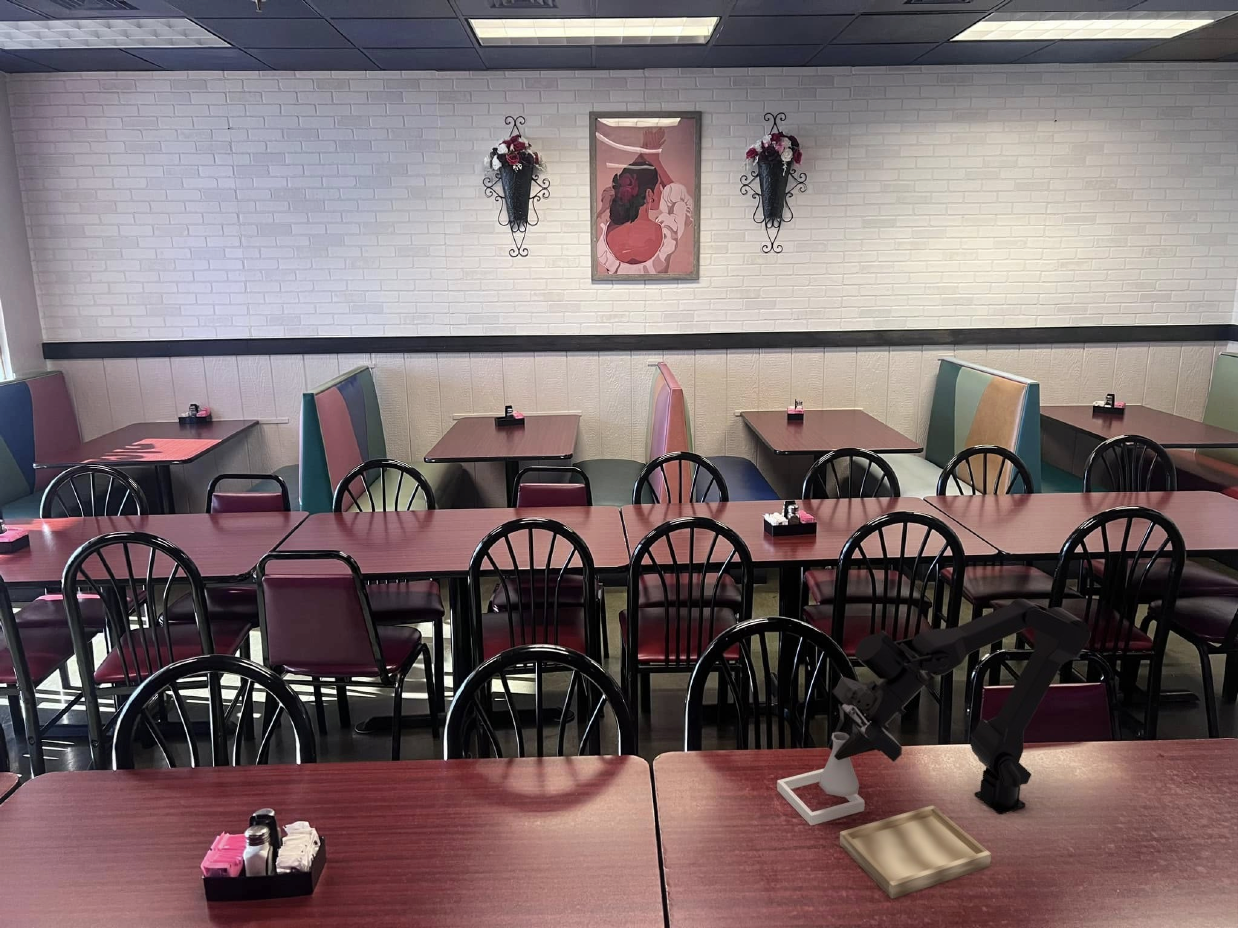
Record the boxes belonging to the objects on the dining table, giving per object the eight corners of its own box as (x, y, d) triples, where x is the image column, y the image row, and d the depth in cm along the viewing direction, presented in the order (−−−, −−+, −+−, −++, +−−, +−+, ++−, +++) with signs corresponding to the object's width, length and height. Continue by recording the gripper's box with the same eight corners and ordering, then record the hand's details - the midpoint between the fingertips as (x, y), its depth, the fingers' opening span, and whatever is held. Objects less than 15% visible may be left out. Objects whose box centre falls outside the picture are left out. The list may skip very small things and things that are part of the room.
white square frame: (827, 776, 164) (828, 767, 163) (864, 810, 153) (864, 800, 153) (777, 789, 160) (777, 780, 160) (810, 825, 149) (811, 815, 149)
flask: (863, 798, 146) (866, 747, 144) (822, 797, 147) (824, 747, 145) (854, 774, 154) (856, 725, 151) (815, 774, 154) (816, 725, 152)
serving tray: (931, 817, 151) (932, 805, 151) (989, 866, 138) (991, 853, 138) (839, 844, 144) (840, 831, 144) (891, 898, 131) (892, 885, 131)
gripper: (843, 642, 154) (786, 701, 156) (887, 690, 136) (821, 757, 138) (882, 677, 157) (825, 735, 158) (930, 729, 139) (865, 794, 140)
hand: (832, 753), depth 148 cm, fingers closed on flask, 3 cm apart
